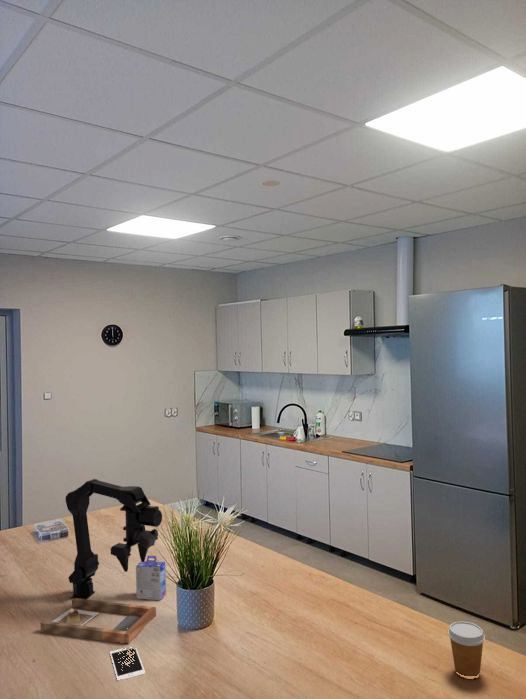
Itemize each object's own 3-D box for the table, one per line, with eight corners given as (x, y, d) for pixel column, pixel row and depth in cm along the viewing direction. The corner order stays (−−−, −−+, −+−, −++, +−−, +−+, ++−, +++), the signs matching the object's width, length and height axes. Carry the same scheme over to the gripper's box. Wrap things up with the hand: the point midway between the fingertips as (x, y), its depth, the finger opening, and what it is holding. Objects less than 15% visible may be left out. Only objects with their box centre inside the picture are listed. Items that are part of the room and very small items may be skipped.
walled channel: (40, 632, 177) (40, 622, 177) (74, 606, 194) (74, 597, 194) (129, 644, 168) (128, 634, 168) (156, 615, 185) (155, 607, 185)
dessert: (99, 615, 188) (98, 602, 188) (76, 633, 176) (76, 618, 176) (70, 611, 192) (70, 598, 192) (46, 628, 180) (46, 614, 180)
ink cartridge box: (167, 593, 202) (165, 555, 202) (161, 600, 196) (160, 561, 196) (142, 592, 204) (141, 554, 204) (136, 599, 198) (134, 559, 198)
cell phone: (117, 683, 149) (117, 680, 149) (109, 653, 164) (109, 651, 164) (145, 675, 152) (145, 673, 152) (135, 647, 167) (135, 645, 167)
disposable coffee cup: (443, 664, 152) (442, 621, 152) (475, 661, 153) (474, 619, 153) (458, 685, 143) (457, 640, 143) (493, 682, 144) (491, 637, 143)
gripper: (134, 535, 181) (135, 581, 182) (167, 518, 198) (168, 560, 198) (109, 530, 186) (109, 575, 187) (143, 514, 203) (144, 555, 203)
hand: (134, 566), depth 194 cm, fingers open, 9 cm apart
